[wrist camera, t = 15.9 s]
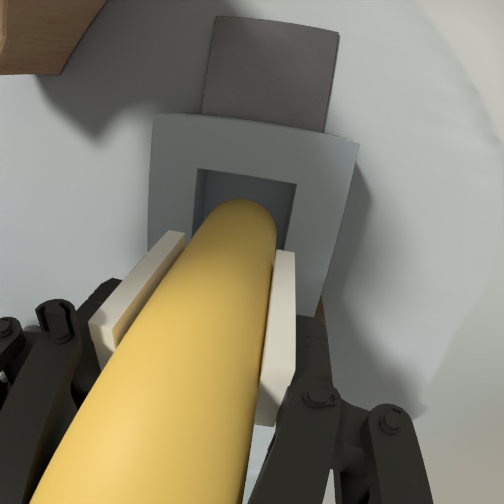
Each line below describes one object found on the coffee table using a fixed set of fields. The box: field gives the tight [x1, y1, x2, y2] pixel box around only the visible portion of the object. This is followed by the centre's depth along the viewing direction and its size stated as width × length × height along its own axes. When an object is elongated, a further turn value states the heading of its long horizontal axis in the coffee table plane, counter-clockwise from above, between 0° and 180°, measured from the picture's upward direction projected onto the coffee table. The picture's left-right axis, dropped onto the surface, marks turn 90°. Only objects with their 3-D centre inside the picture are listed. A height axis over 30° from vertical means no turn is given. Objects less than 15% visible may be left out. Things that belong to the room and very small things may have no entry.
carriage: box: [148, 113, 359, 317], centre depth 19 cm, size 11×11×4 cm
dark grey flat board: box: [201, 16, 339, 133], centre depth 20 cm, size 8×19×1 cm, turn 172°
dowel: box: [29, 199, 277, 504], centre depth 10 cm, size 4×4×16 cm
